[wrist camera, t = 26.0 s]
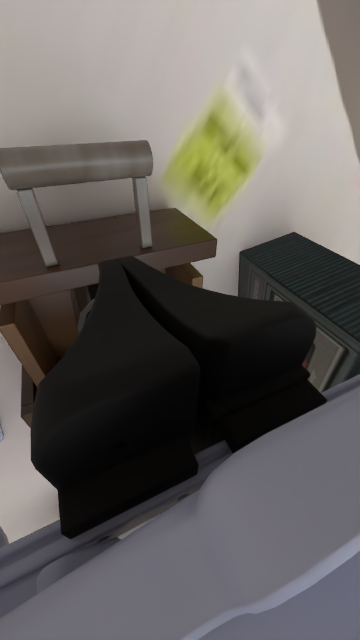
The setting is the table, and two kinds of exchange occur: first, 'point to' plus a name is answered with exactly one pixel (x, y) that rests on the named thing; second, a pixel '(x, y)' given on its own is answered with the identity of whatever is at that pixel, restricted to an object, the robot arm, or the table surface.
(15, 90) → the table surface
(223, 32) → the table surface
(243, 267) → the cassette player
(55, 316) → the drawer
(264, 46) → the table surface
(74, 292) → the cup
